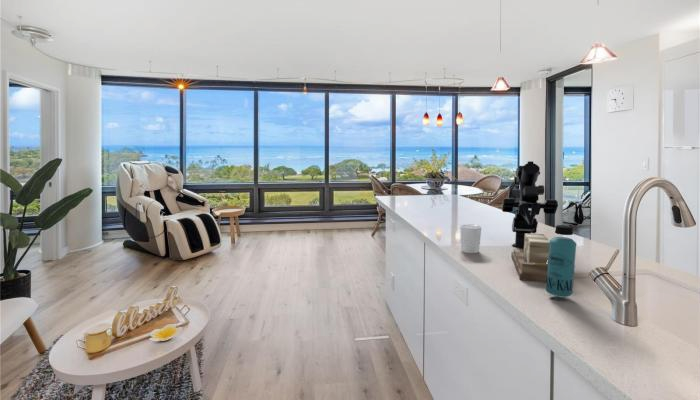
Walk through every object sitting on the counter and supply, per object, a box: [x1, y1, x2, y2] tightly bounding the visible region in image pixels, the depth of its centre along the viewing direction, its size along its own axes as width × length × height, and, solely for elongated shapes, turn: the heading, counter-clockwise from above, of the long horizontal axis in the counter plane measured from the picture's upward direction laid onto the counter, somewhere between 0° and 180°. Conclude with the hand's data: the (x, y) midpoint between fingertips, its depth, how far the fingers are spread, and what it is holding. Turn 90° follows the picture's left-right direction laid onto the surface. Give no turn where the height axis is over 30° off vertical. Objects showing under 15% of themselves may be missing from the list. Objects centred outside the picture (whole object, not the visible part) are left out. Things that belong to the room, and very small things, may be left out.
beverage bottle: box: [545, 224, 577, 298], centre depth 101 cm, size 6×7×20 cm
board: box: [510, 248, 548, 283], centre depth 127 cm, size 26×12×5 cm, turn 162°
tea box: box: [522, 233, 550, 263], centre depth 125 cm, size 13×6×9 cm, turn 162°
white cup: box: [459, 224, 482, 254], centre depth 149 cm, size 8×8×10 cm
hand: (530, 224), depth 139 cm, fingers closed
